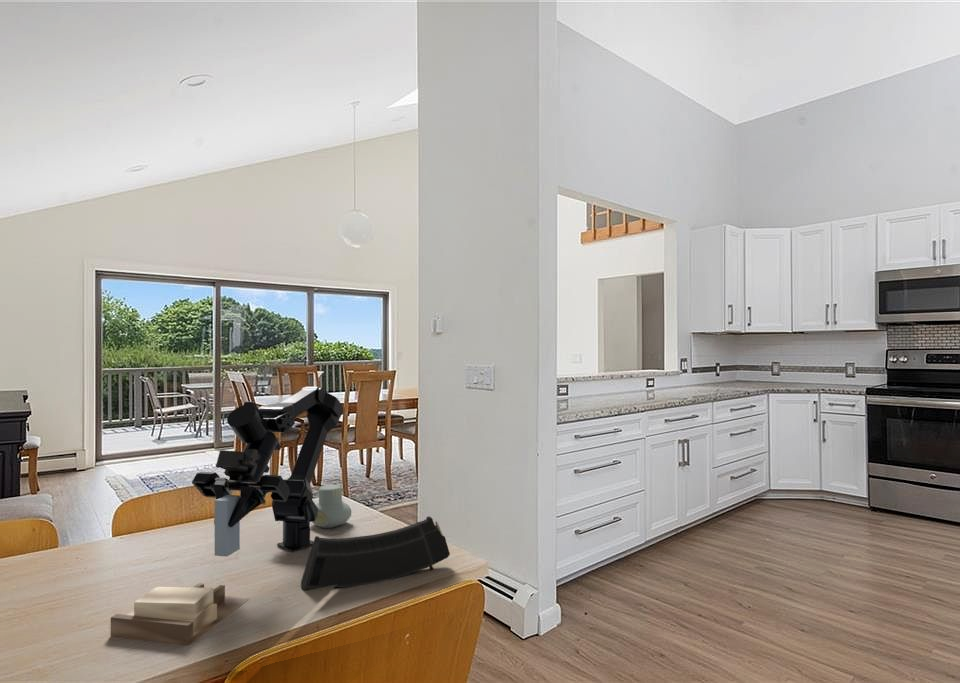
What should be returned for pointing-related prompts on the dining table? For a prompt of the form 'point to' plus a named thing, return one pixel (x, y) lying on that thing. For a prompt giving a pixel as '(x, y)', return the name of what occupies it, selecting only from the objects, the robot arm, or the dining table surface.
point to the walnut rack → (171, 622)
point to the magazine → (374, 556)
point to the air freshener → (331, 507)
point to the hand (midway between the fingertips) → (222, 525)
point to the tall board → (226, 526)
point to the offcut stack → (178, 605)
